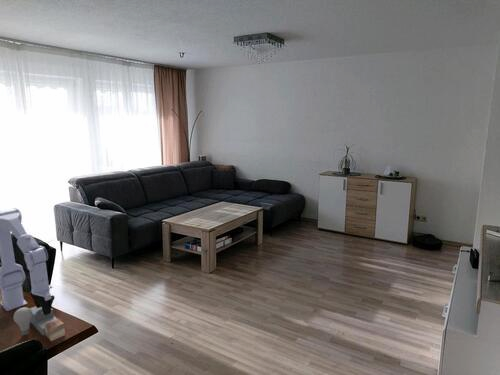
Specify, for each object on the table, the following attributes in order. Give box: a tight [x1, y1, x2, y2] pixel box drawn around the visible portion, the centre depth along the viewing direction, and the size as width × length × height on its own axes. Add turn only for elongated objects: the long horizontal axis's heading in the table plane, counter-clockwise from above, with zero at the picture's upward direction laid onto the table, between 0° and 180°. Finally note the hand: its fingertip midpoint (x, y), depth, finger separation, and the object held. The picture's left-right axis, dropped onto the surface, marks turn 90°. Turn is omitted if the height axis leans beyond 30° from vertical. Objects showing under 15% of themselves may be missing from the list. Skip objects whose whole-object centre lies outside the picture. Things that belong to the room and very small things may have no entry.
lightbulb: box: [13, 306, 33, 336], centre depth 137 cm, size 6×6×11 cm
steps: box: [28, 305, 58, 336], centre depth 144 cm, size 14×6×6 cm, turn 49°
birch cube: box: [45, 318, 66, 342], centre depth 137 cm, size 5×5×5 cm
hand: (43, 310), depth 143 cm, fingers open, 7 cm apart
